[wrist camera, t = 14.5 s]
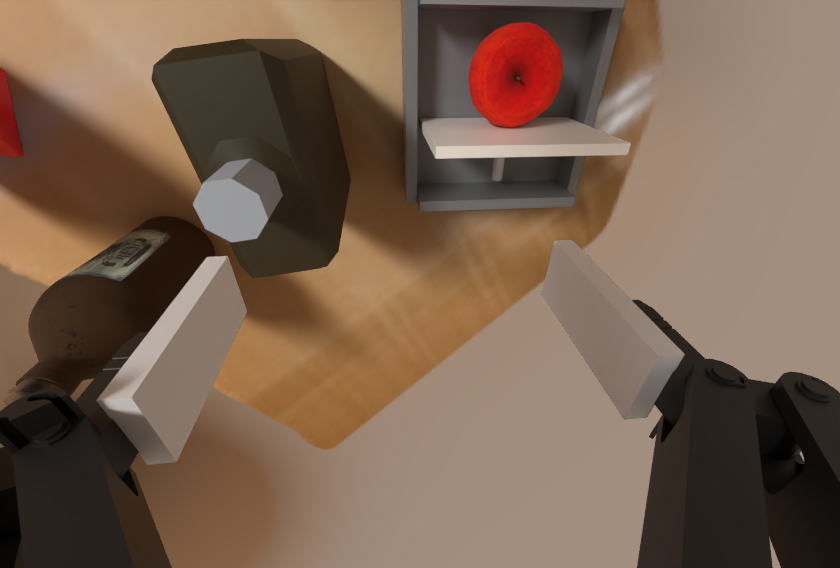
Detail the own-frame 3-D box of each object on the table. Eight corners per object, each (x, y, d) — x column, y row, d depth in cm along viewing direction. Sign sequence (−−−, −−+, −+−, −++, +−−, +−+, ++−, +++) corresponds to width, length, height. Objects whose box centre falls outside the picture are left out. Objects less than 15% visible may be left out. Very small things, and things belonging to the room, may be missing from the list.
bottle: (318, 36, 36) (245, 32, 16) (353, 187, 46) (335, 309, 25) (240, 47, 36) (65, 57, 16) (291, 197, 45) (222, 326, 25)
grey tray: (401, -7, 35) (406, -16, 29) (603, -2, 37) (644, -10, 31) (404, 190, 46) (408, 212, 41) (558, 186, 48) (583, 206, 43)
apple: (547, 29, 37) (583, 26, 31) (526, 120, 42) (553, 134, 36) (464, 19, 36) (483, 14, 30) (452, 114, 41) (466, 128, 34)
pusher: (419, 118, 40) (435, 146, 30) (566, 116, 42) (631, 143, 31) (419, 171, 44) (433, 213, 33) (554, 168, 45) (610, 207, 35)
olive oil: (234, 273, 51) (138, 432, 30) (161, 287, 51) (16, 455, 30) (196, 204, 45) (43, 343, 24) (113, 219, 45) (-110, 372, 24)
